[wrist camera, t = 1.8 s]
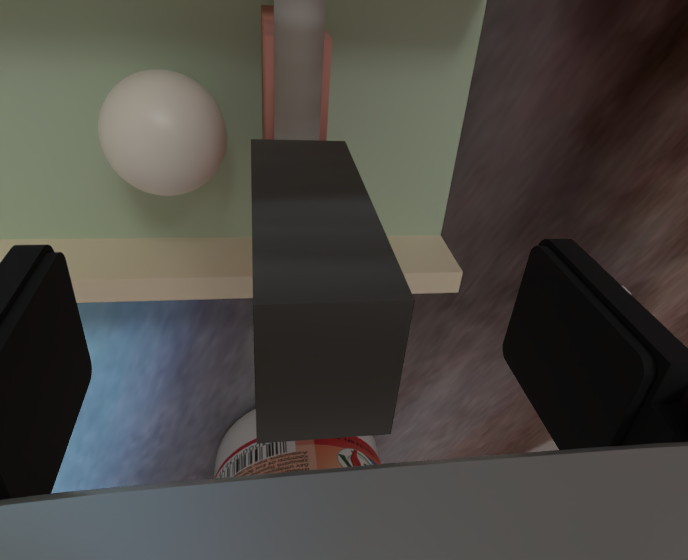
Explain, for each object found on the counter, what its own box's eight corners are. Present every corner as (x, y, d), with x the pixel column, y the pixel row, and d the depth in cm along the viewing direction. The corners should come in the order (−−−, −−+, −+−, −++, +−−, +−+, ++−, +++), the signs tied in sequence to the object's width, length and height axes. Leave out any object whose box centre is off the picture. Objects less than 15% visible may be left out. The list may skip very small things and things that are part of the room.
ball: (103, 54, 18) (70, 85, 14) (226, 59, 18) (221, 90, 15) (122, 167, 20) (96, 216, 17) (231, 169, 21) (228, 216, 17)
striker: (244, -165, 15) (234, -387, 4) (329, -155, 15) (529, -335, 4) (255, 300, 24) (261, 621, 13) (309, 299, 24) (358, 609, 13)
